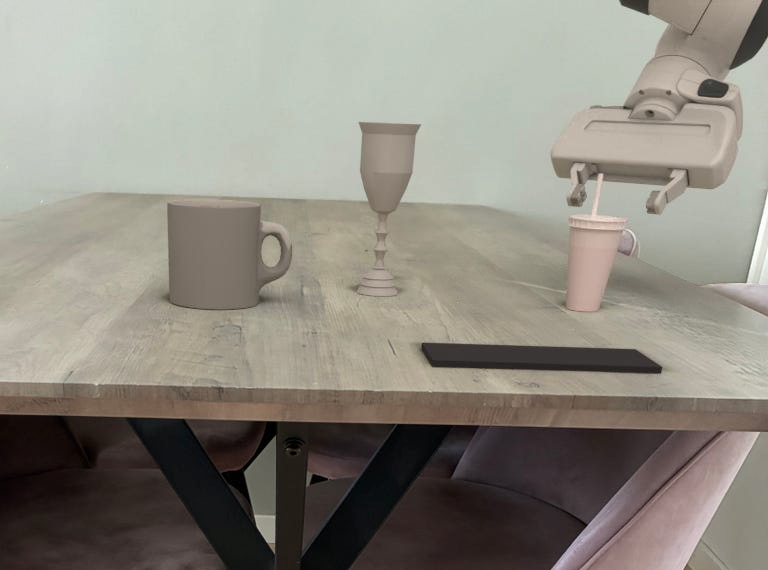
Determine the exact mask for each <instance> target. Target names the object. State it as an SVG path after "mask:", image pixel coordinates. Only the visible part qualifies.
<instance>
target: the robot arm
mask: <svg viewBox="0 0 768 570" xmlns="http://www.w3.org/2000/svg"><path fill="white" fill-rule="evenodd" d="M618 2H619V3H620V6H622V7H625V8H627V9H630V10H632V11H635V12H638V13H641V14H643V15H646V16H652V17H654V18H657V19H658V20H661V21H662V22H664V23H665V24H667V26H666V28H665V29H664V31H663V32H662V35H661V36H660V37H659V40H658V42H657V44H656V47H655V49H654V55H653V57H652V58H650V59H649V61H648V62H647V63H646V65H644V67H643V68H642V70H641V72H640V74H639V76H638V77H637V79H636V81H635V83H634V85H633V87H632V88H631V90H630V92H629V94H628V96H627V97H626V99H625V101H624V103H623V105H608V106H607V105H606V106H602V105H600V104H597V105H595V104H594V105H591V106H590V107H589V108H587V109H584V110H582V111H578V112H576V114H574V116H573V118H572V119H571V121H570V122H569V123H568V124H567V125H566V127H565V128H564V130H563V131H562V132H561V133H560V135H559V137H557V139H556V140H555V142H554V144H553V146H552V147H551V149H550V159H551V160H550V161H551V163H552V164H551V165H552V167H553V171H554V172H555V175H556V177H557V178H559V179H568V180H570V181H571V187H570V188H569V190H568V192H567V194H566V202H567V206H568V207H572V208H573V207H574V208H581V207H583V205H584V204H583V203H584V202H585V201H586V200H587V198H588V195H587V191H586V186H585V185H586V184H587V182H588V181H595V182H597V179H598V174H604V175H603V180H602V182H607V183H609V182H610V183H621V184H636V185H649V186H661V187H662V188H660V190H651V192H650V194H649V197H648V198H647V200H646V202H645V209H646V213H647V214H648V215H649V214H650V215H660V216H661V215H662V214H663V212H664V210H665V208H666V206H667V205H668V204H670V203H672V202H673V201H674V200H676V199H678V198H679V197H680V196H681V195H683V194H684V193H685V191H686V190H687V188H689V189H701V190H714V189H717V188H718V187H720V186H722V185H723V184H725V183H726V181H727V179H728V178H729V176H730V174H731V172H732V170H733V167H734V165H735V163H736V159H737V157H738V156H737V155H738V151H739V148H738V147H739V146H738V143H739V140H740V139H741V137H742V135H743V129H744V108H743V106H744V105H743V101H742V100H743V99H742V95H741V90H740V87H739V86H738V85H737V84H734V83H731V82H728V81H724V80H725V79H726V78H727V77H728V76H729V73H730V72H731V70H734V69H736V68H739V67H741V66H742V65H744V64H746V63H747V62H749V61H751V60H752V59H753V58H754V57H756V55H757V54H758V53H759V51H760V50H761V49H762V47H763V46H764V44H765V43H766V41H767V40H768V0H618Z"/></svg>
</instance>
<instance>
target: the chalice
mask: <svg viewBox="0 0 768 570" xmlns="http://www.w3.org/2000/svg"><path fill="white" fill-rule="evenodd" d="M358 125H359V128H360V131H361V134H362V135H361V145H360V147H361V149H360V163H359V172H360V178H361V182H362V187H363V190H364V193H365V196H366V198H367V201H368V204H369V207H370V209H371V211H373V212H375V213H376V214H377V216H378V218H377V219H378V223H377V227H376V230H375V231H374V233H375V235H376V244H375V247H373V248H372V250H373V251H374V254H375V255H374V256H375V262H374V266H372V269H370V270H367V271H366V272H365V273H364V274H363V275H362V277H363V278H362V279H361V281H360V283H359V284H360V285H359V286H358V288H357V290H356V291H355V292H356V293H357V294H360V295H364V296H371V297H393V296H397V295H399V292H398V290H397V288H396V282H395V280H394V277H395V276H393V274H392V273H391V272H389V271H387V270H386V267H385V262H384V259H385V255H386V252H388V250H389V249H388V248H387V246H386V238H387V236H388V234H389V231H388V227H387V220H388V216H389V214H391V213H394V212H396V210H397V209H398V206H399V204H400V203H401V201H402V199H403V197H404V195H405V193H406V190H407V188H408V185H409V183H410V180H411V179H412V175H413V171H414V160H415V149H416V137H417V134H418V132H419V130H420V128H421V126H422V123H421V124H420V123H403V122H402V123H401V122H378V121H377V122H376V121H375V122H374V121H372V122H371V121H358Z"/></svg>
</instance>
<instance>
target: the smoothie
mask: <svg viewBox="0 0 768 570" xmlns="http://www.w3.org/2000/svg"><path fill="white" fill-rule="evenodd" d="M603 175H604V174H598V179H597V181H596V186H595V191H594V196H593V203H592V209H591V213H589V214H586V213H583V214H582V213H579V214H571V215H569V216H568V222H567V225H566V226H568V227H569V238H568V256H567V257H568V258H567V259H568V261H567V277H566V278H567V279H566V296H565V297H566V298H565V299H566V300H565V308H566V309H568V310H570V311H576V312H588V313H589V312H590V313H591V312H599V310H600V308H601V304H602V302H603V298H604V295H605V291H606V288H607V285H608V282H609V278H610V275H611V271H612V268H613V265H614V262H615V259H616V255H617V252H618V249H619V247H620V243H621V239H622V236H623V233H624V231H625V230H627V229H628V222H629V220H628V218H626V217H620V216H611V215H603V214H597V213H598V208H599V202H600V196H601V191H602V186H603V181H602V180H603Z"/></svg>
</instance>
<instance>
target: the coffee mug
mask: <svg viewBox="0 0 768 570" xmlns="http://www.w3.org/2000/svg"><path fill="white" fill-rule="evenodd" d="M166 203H167V205H166V207H167V209H166V210H167V211H166V213H167V214H166V215H167V250H168V251H167V254H168V289H169V290H168V291H169V295H168V297H169V302H170V303H171V304H173V305H175V306H180V307H184V308H190V309H197V310H218V311H219V310H220V311H221V310H222V311H223V310H224V311H225V310H241V309H247V308H253V307H255V306H258V305H259V303H260V292H261V289H262V288H263V287H264V286H265V285H268V284H270V283H272V282H274V281H277V280H279V279H281V278H282V277H283V276H285V275H286V273H287V272H288V271H289V269H290V267H291V264H292V259H293V241H292V237H291V235H290V232H289V231H288V229H287V228H286V227H285V226H284V225H282V224H280V223H278V222H273V221H266V220H262V219H261V217H262V216H261V214H262V211H261V210H262V207H261V204H260V203H258V202H254V201H253V202H252V201H248V200H247V201H246V200H234V199H219V198H218V199H217V198H216V199H215V198H185V199H182V198H181V199H172V200H168V201H167V202H166ZM269 236H272V237H274V238H275V239H277V241H278V244H279V247H280V256H279V260H278V262H277V263H276V264H275V265H273V266H268V265H266V263H265V262H264V259H263V255H262V248H263V243H264V240H265V239H266V238H267V237H269Z"/></svg>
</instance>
